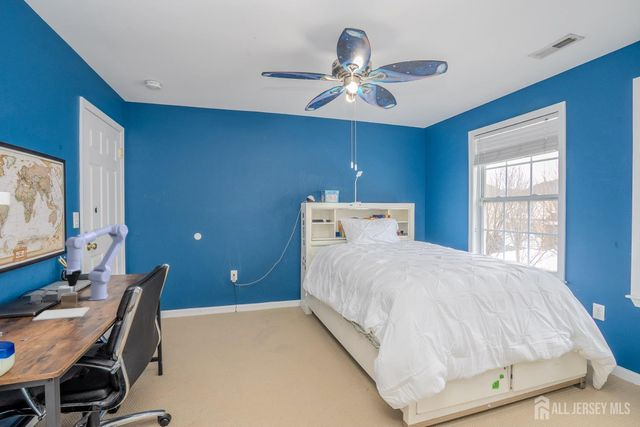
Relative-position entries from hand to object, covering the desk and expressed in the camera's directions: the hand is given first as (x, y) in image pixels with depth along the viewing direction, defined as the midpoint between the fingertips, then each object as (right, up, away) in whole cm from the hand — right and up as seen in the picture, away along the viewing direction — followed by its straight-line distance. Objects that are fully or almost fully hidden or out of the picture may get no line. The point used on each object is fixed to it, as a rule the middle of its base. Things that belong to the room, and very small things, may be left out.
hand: (72, 285), depth 160 cm
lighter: (-18, -10, +1) cm, 21 cm away
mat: (+6, -11, -13) cm, 18 cm away
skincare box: (-11, -10, +9) cm, 17 cm away
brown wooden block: (+2, -11, -5) cm, 12 cm away
